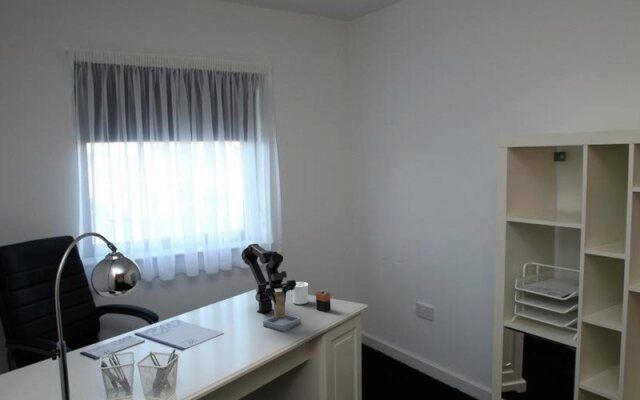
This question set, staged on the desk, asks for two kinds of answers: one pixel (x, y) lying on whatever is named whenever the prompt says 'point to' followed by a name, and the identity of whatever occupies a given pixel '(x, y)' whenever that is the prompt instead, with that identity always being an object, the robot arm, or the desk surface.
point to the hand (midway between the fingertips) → (280, 303)
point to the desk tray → (282, 322)
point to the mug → (300, 293)
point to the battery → (323, 301)
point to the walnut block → (279, 304)
